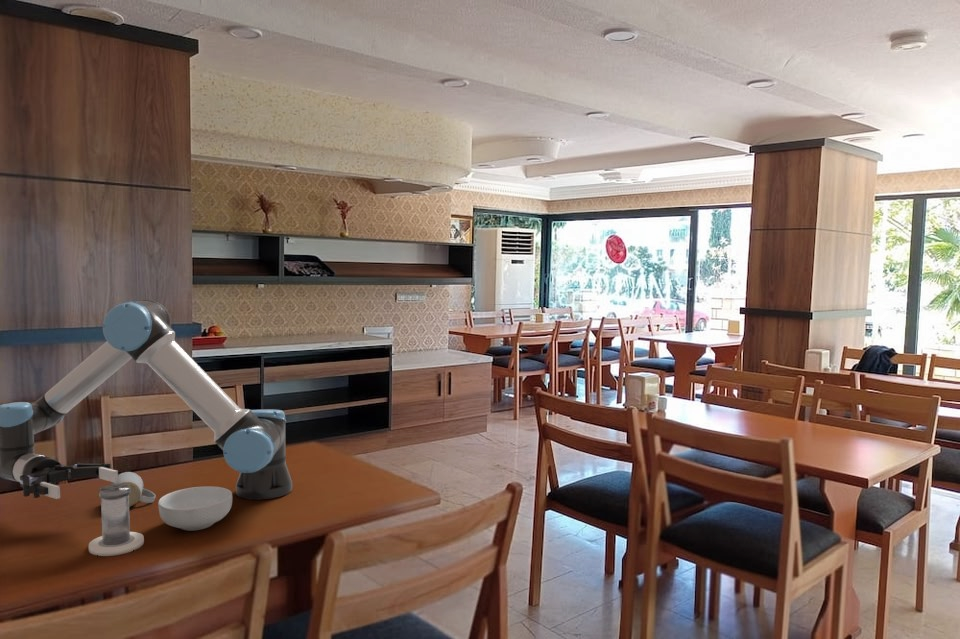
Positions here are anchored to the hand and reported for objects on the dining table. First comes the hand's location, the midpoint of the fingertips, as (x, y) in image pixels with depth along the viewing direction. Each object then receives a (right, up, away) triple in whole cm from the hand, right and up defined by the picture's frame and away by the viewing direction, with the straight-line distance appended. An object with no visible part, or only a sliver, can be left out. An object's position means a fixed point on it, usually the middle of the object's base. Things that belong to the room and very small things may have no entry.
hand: (88, 484), depth 163 cm
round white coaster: (+9, -13, -4) cm, 16 cm away
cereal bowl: (+21, -12, +10) cm, 26 cm away
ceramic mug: (-2, -11, +25) cm, 27 cm away
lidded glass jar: (+8, -12, -4) cm, 15 cm away
